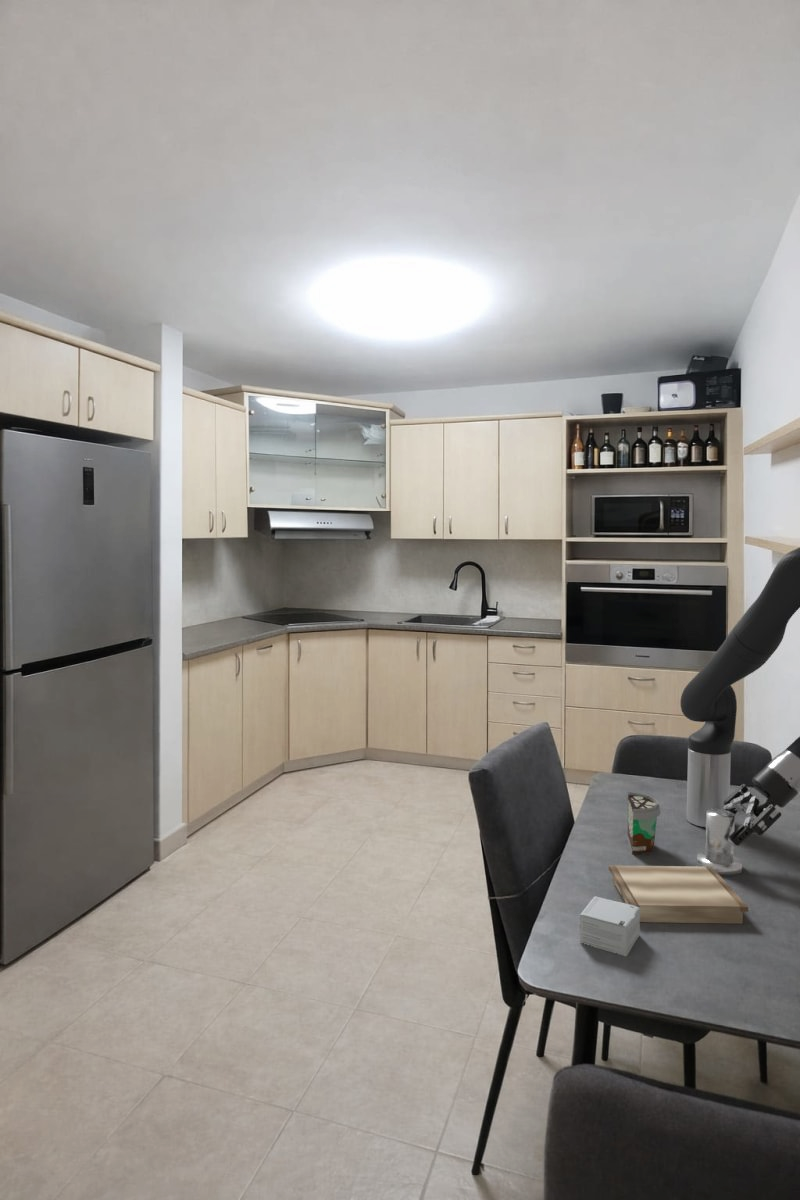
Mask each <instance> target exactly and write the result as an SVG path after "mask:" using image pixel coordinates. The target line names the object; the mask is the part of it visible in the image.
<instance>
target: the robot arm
mask: <svg viewBox="0 0 800 1200" xmlns="http://www.w3.org/2000/svg"><path fill="white" fill-rule="evenodd" d="M799 609H800V547H797V548H795V549H793V550H790V551H789V552H787V553H786V554H784V555H783V556H782V557H781V558H780V559H779V560H778V562H777V564H776V566H774V569H773V571H772V573H771V574H770V576H769V578H768V580H767V582H766V584H765V585H764V587H763V589H762V591H761V592H760V594H759V595H758V596H757V598H756V600H755V601H754V602H753V603H752V604H751V605H750V606H749V607H748V608H747V610H746V611H745V612H744V613H743V615H742V616H741V618H739V620H738V621H737V622H736V624H735V625H734V626H733V628H732V630H731V631H730V632H729V633H728V635H727V637H726V638H725V640H724V641H723V643H722V644H721V645H720V646H719V647H718V649H717V650H716V652H715V653H714V654H713V656H712V657H710V659H709V661H708V662H707V663H706V664H705V666H704V667H702V669H701V670H700V671H699V672H698V673H697V674H696V675H694V677H693V678H691V680H690V681H689V682H688V683H687V685H685V688H684V689H683V691H682V694H681V696H680V702H679V703H680V709H681V712H682V715H683V716H685V718H686V719H688V720H689V721H693V722H698V723H699V722H700V723H704V724H703V725H702V727H700V728H699V729H698V730H697V731H695V732H693V733H691V734H690V735H689V736H688V740H687V779H686V780H687V781H686V782H687V785H686V786H687V787H686V815H685V817H686V821H688V823H690V824H693V825H694V826H699V827H701V828H706V812H707V810H710V809H722V810H727V811H730V812H732V813H734V815H735V817H737V816H739V815H743V816H745V819H744V821H743V824H740V826H738V828H736V829H734V832H733V833H732V834H731V835H730V836H729V839H730V840H731V841H732V842H733V843H734V846H737V847H738V846H740V845H741V844H742V843H743V842H744V841H745V840H746V839H747V838H748V837H750V836H751V835H755V834H757V835H758V836H762V835H763V834H765V832H767V831H768V830H769V829H770V828H771V826H772V825H773V824H775V822H777V820H779V819H780V817H782V812H780V810H779V809H778V808H785V807H786V806H787V805H788V804H789V803H790V802H791V801H792V800H793V799H794V798H796V797H797V795H799V794H800V736H798V737H797V738H796V739H795V740H794V741H793V742H792V743H791V744H789V746H788V747H787V748H786V749H784V750H782V751H781V752H780V753H778V754H777V755H776V756H775V757H774V758H772V760H771V761H769V762H768V763H767V764H766V765H765V766H763V768H762V769H761V770H760V771H759V772H758V773H756V775H755V776H753V777H752V779H751V782H752V784H753V785H754V786H753V787H751V788H749V787H748V786H747V785H746V784H745V783H742V784H741V785H740V786H739V787H738V788H736V789H735V790H734V791H733V792H732V793H731V794H730V790H731V789H730V788H731V757H732V756H731V755H732V754H731V753H732V752H731V751H732V745H733V742H734V739H735V736H736V734H735V733H736V722H737V711H738V710H737V708H738V707H737V706H738V705H737V704H738V703H737V696H736V691H735V690H734V688H733V686H732V685H734V684H735V683H737V682H739V681H740V680H743V679H744V678H746V677H747V676H749V675H751V674H753V673H754V672H756V671H757V670H759V669H760V668H761V667H762V666H764V665H765V664H766V663H767V661H768V660H769V659H770V658H771V657H772V656H773V654H774V653H775V652H776V650H777V649H778V648H779V646H780V645H781V643H782V641H783V638H784V636H785V633H786V629H787V625H788V623H789V621H790V619H791V618H792V617H793V616H794V615H795V613H796V612H797V611H798V610H799ZM776 806H777V807H778V808H777V807H776ZM760 826H761V827H760Z"/></svg>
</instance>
